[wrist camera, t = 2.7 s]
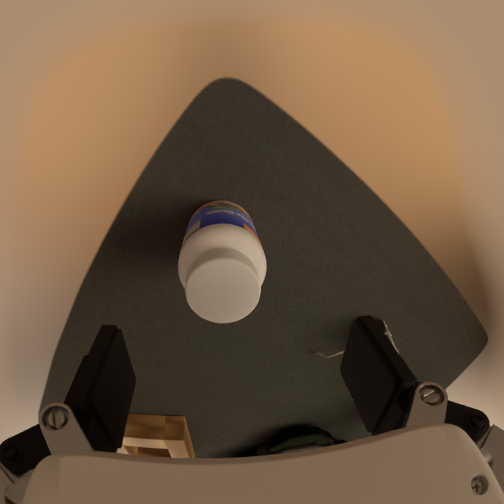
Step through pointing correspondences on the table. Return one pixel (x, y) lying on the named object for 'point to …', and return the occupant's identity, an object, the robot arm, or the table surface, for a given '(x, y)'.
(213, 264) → the pill bottle
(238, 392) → the table surface
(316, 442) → the dark green landmine
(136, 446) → the socket
